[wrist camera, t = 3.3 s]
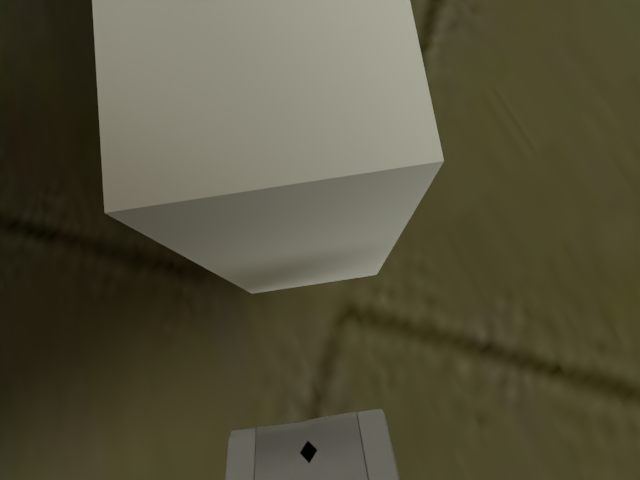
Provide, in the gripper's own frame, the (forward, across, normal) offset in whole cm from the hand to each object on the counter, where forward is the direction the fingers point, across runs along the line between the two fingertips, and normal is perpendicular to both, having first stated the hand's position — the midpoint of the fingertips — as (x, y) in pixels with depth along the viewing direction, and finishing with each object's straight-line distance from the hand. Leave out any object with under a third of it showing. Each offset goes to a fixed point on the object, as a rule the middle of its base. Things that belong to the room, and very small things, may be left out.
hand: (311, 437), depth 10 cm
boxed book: (+16, 0, +2) cm, 16 cm away
